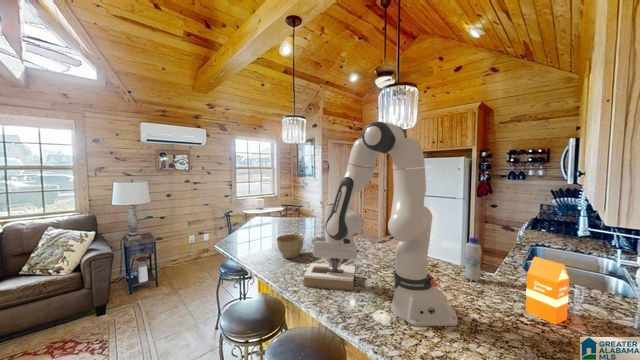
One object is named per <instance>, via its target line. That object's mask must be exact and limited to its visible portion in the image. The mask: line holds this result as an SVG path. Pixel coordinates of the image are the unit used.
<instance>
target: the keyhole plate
mask: <svg viewBox="0 0 640 360" xmlns="http://www.w3.org/2000/svg"><path fill="white" fill-rule="evenodd" d="M355 279H356V266H355V265H347V264H346V265H343V264H341V268H338V273H333V269H332V267H329V263H314V262H311V263H310V264H309V267H308V268H307V270H306V271H305V273H304V275H303V282H304V283H303V284H304V285H303V286H304V287H311V288H313V287H314V288H321V289H322V288H325V289H335V290H345V291H346V290H347V291H354V287H355V285H354V284H355V283H354V281H355Z"/></svg>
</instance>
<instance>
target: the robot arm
mask: <svg viewBox="0 0 640 360" xmlns="http://www.w3.org/2000/svg"><path fill="white" fill-rule="evenodd" d="M380 154H383V155H385V154H389V155H390V157H391V160H392V161H391V162H392V179H393V181H392V182H393V196H392V197H393V198H392V203H391V204H392V205H391V211H390V218H389V220H388V222H387V223H388V224H387V228H388V232H389V234H390V235H391V237H393V239H395V240H397V241H398V242H397V246H396V248H395V266H394V267H395V270H394V273H393V286H394V289H393V298H392V301H391V304H390V310H391V312H392V313H393V314H395V316H397V317H399V318H400V319H402V320H404V321H406V322H408V324H410V325H411V326H414V327H438V326H439V327H443V326H444V327H449V326H450V327H451V326H452V327H455V326H457V325H458V315H457V312H456V311H455V309H454V308H453V306H451V305H450V302H449V299H448V297H447V295H446V294H445V293H444V292H443V291H442V290H441V289H439V288H438V287H437V285H438V284H437V281H436V280H435V279H434V278H433V276H432V275H431V273H428V258H429V257H428V254H429V247H430V239H431V235H432V234H431V232H432V223H433V214H432V212H431V209H430V208H428V207H427V206H426V205H425V198H426V197H425V196H426V193H427V179H426V164H425V163H426V162H425V156H424V152H423V148H422V143H421V142H420V140H419V139H416V138H415V137H408V134H407V133H406V131H405V130H404V128H402V127H401V126H398V125H394V124H393V123H390V122H385V121H384V122H383V121H373V122H370V123H369V124H367V125H366V126H365V128H364V129H363V130H362V135H361V138H358V139H356V140H355V141H354V142H353V145H352V147H351V151H350V155H349V157H348V163H347V167H346V170H345V174H344V176H343V178H342V179H341V181H340V183H339V186H338V188H337V192H336V195H335V198H334V203H329V204H327V205H326V207H325V209H324V211H325V212H324V223H325V229H324V234H325V236H316V237H313V239H312V244H313V250H312V251H313V252H312V255H313V256H314V257H315V258H322V259H324V258H325V259H326V260H327V261H326V262H327V264H329V267H332V262H331V261H330V258H339V259H340V262H339V263H337V267H338V268H341V265H342V261H343V259H348V260H356V259H357V257H358V254H357V253H358V252H357V250H358V249H357V245H356V242H355V237H354V235H355V234H356V233H358V232H360V231H362V229H363V227H364V220H363V217H362V216H361V214H360V213H359V212H356V211H353V210H351V209H349V208H350V203H351V201H352V199H353V198H354V196H355V194H356V193H357V192H359V191H360V190H361V189H363V188H365V187H366V186H368V185H369V184H370V183H371V181H372V178H373V176H374V173H375V168H376V163H377V159H378V157H379V155H380Z"/></svg>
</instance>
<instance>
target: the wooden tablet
mask: <svg viewBox="0 0 640 360" xmlns="http://www.w3.org/2000/svg"><path fill="white" fill-rule="evenodd" d="M358 252H359V249H357V253H358ZM348 260H349V259H343V261H342V263H344V262H347V261H348ZM325 261H326V262H328V261H327V259H326V260H325ZM330 261H331V262H332V258H330ZM339 262H340V259H339V258H338V263H339ZM342 263H341V264H342Z"/></svg>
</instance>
